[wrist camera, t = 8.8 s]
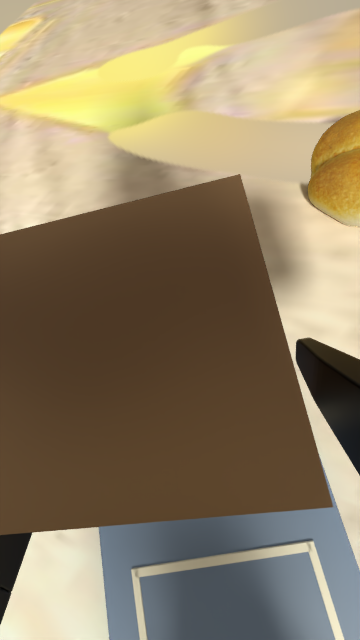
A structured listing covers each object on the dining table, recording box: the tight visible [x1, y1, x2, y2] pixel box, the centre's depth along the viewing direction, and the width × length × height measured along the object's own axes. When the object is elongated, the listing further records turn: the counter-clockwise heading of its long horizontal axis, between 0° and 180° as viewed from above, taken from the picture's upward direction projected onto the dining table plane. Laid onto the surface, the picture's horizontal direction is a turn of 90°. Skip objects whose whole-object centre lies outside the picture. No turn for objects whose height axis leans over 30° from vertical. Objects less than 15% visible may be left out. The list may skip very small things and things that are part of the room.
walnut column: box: [0, 174, 333, 535], centre depth 10 cm, size 5×5×12 cm
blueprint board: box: [99, 459, 360, 640], centre depth 13 cm, size 24×14×2 cm, turn 13°
